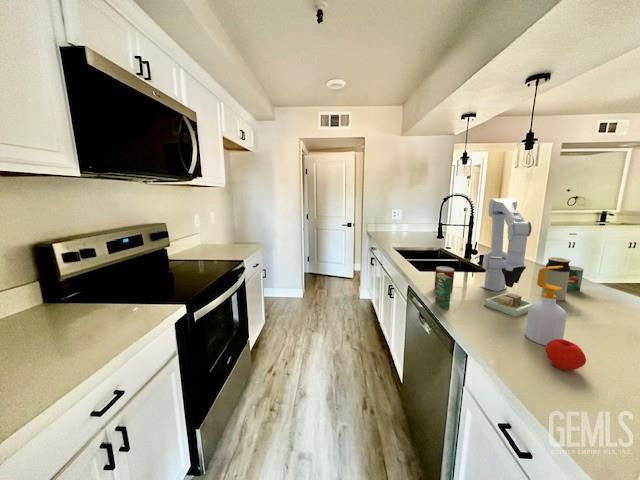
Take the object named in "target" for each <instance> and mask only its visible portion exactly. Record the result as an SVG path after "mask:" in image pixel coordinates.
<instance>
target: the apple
mask: <svg viewBox="0 0 640 480" xmlns="http://www.w3.org/2000/svg"><path fill="white" fill-rule="evenodd" d="M544 350H545V354H546V357H547V359H548V361H550V363H551V364H552V365H553V366H554V367H556V368H558V369H560V370H562V371H568V372H569V371H575V370H578V369H579V368H582V367H584V366H585V365H586V363H587V358H586V354H585V353H584V352H583V350H582V349H581V347H580V346H579V345H577V344H575V343H574V342H571V341H569V340H566V339H564V338H563V339H555V340H552V341H550V342H548V343H547V345H546V346H545V349H544Z"/></svg>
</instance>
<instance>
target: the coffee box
mask: <svg viewBox="0 0 640 480" xmlns="http://www.w3.org/2000/svg"><path fill="white" fill-rule="evenodd" d="M451 281H452V278H450V277H448V276H447V275H445V274H443V273H437V279H436V290H435V297H434V298H435V299H434V300H435V303H436V304H437V305H439V306H440V308H442V309H443V310H448V309H450V304H451V303H450V302H451V295H452V294H451V293H452V292H451Z"/></svg>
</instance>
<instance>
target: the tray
mask: <svg viewBox="0 0 640 480" xmlns="http://www.w3.org/2000/svg"><path fill="white" fill-rule="evenodd" d="M506 295H507V294H506V293H500V294H498V295H495V296H493V297H489V298H487V299H484V305H483V306H485V307H487V308H489V309H492V310H496V311H498V312H501V313H504V314H506V315H509V316H512V317H515V318H518V317H520V316H523V315H525V314H528V309H529V306H530V305H531V304H532V303H533V302H532V301H528V300H525V299H522V298H521V305H520V306H518V307H513V306H512V308H511V307H508V306H505V305H502V304H499V303H497V298H498V297H500V296H506Z"/></svg>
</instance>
